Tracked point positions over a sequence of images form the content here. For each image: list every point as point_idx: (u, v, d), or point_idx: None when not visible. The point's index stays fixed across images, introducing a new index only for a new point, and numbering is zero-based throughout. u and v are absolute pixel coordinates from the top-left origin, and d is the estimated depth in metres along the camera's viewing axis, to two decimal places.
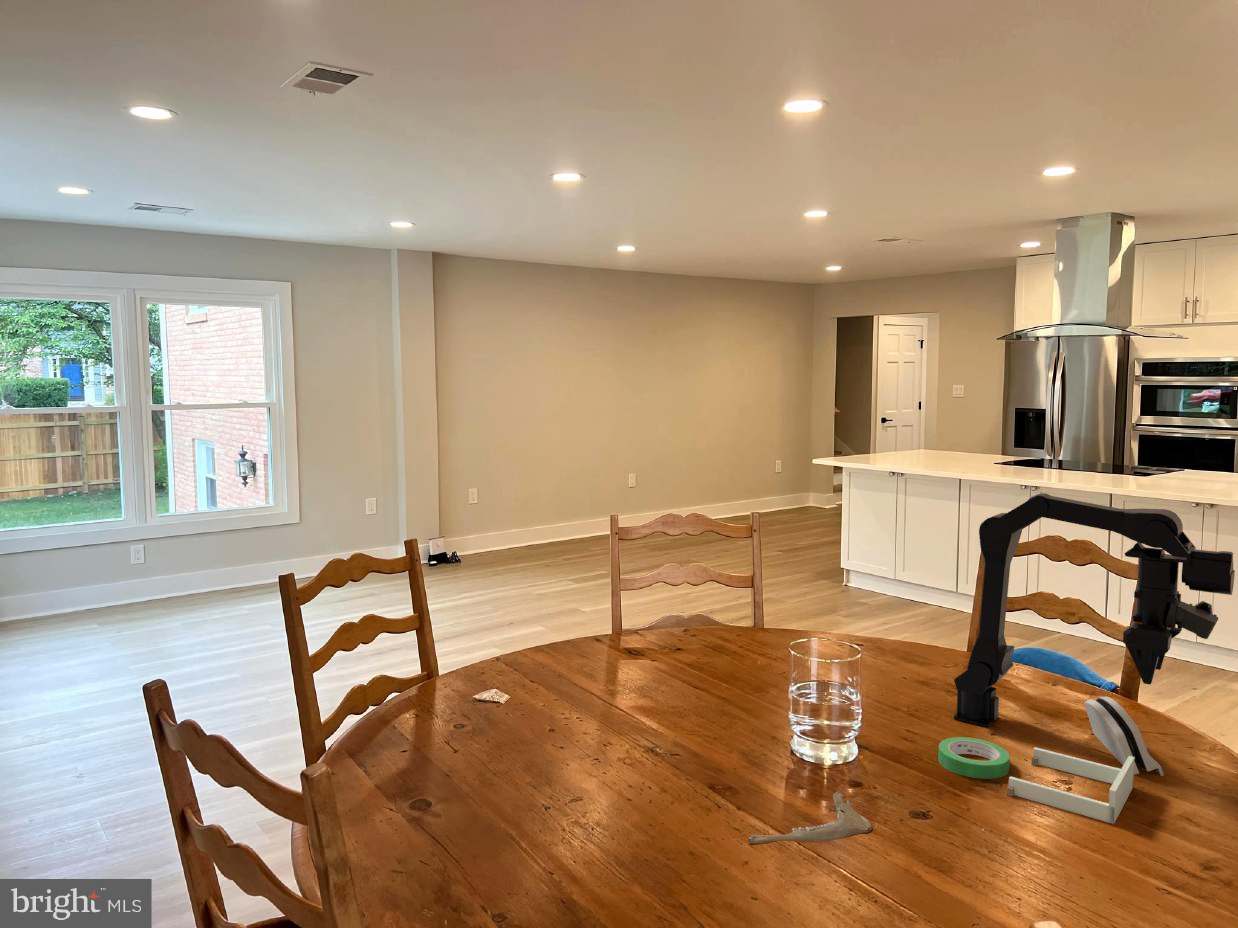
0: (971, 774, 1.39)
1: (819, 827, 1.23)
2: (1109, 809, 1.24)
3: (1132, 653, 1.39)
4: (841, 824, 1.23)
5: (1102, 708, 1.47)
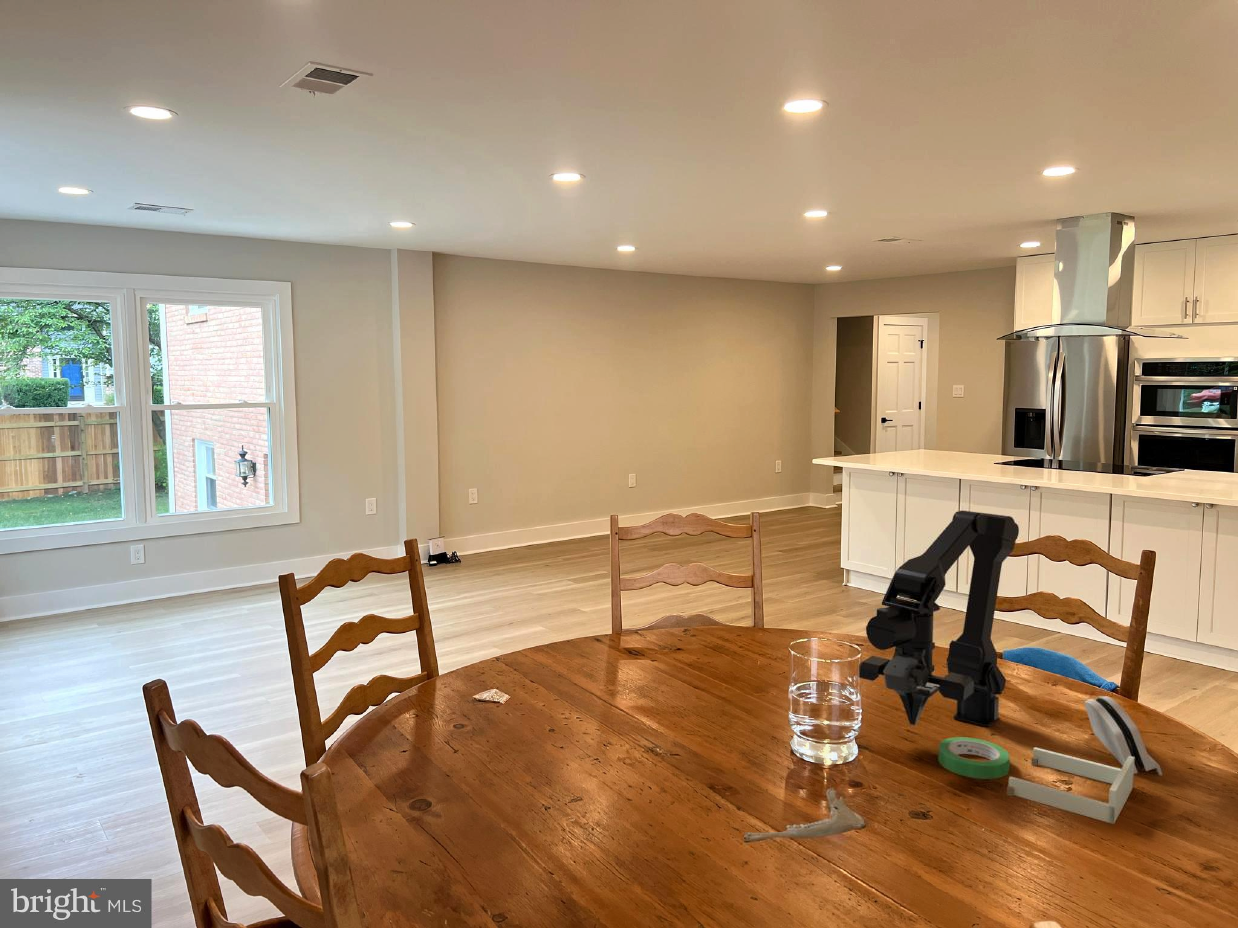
0: (971, 774, 1.39)
1: (813, 824, 1.24)
2: (1109, 809, 1.24)
3: None
4: (835, 821, 1.24)
5: (1101, 707, 1.47)
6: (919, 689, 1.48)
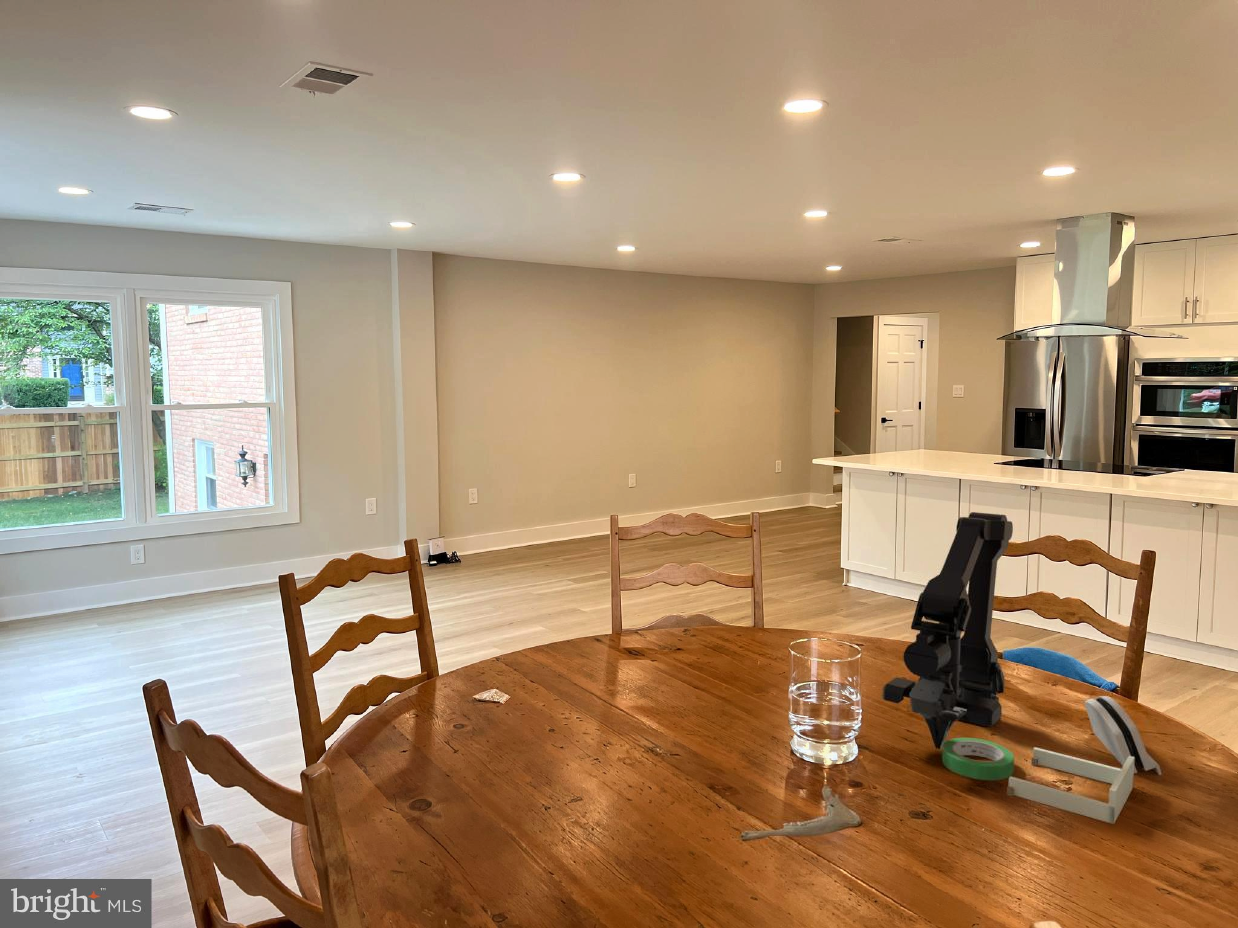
0: (975, 775, 1.39)
1: (810, 822, 1.24)
2: (1109, 809, 1.24)
3: None
4: (832, 818, 1.25)
5: (1101, 707, 1.47)
6: (945, 713, 1.45)
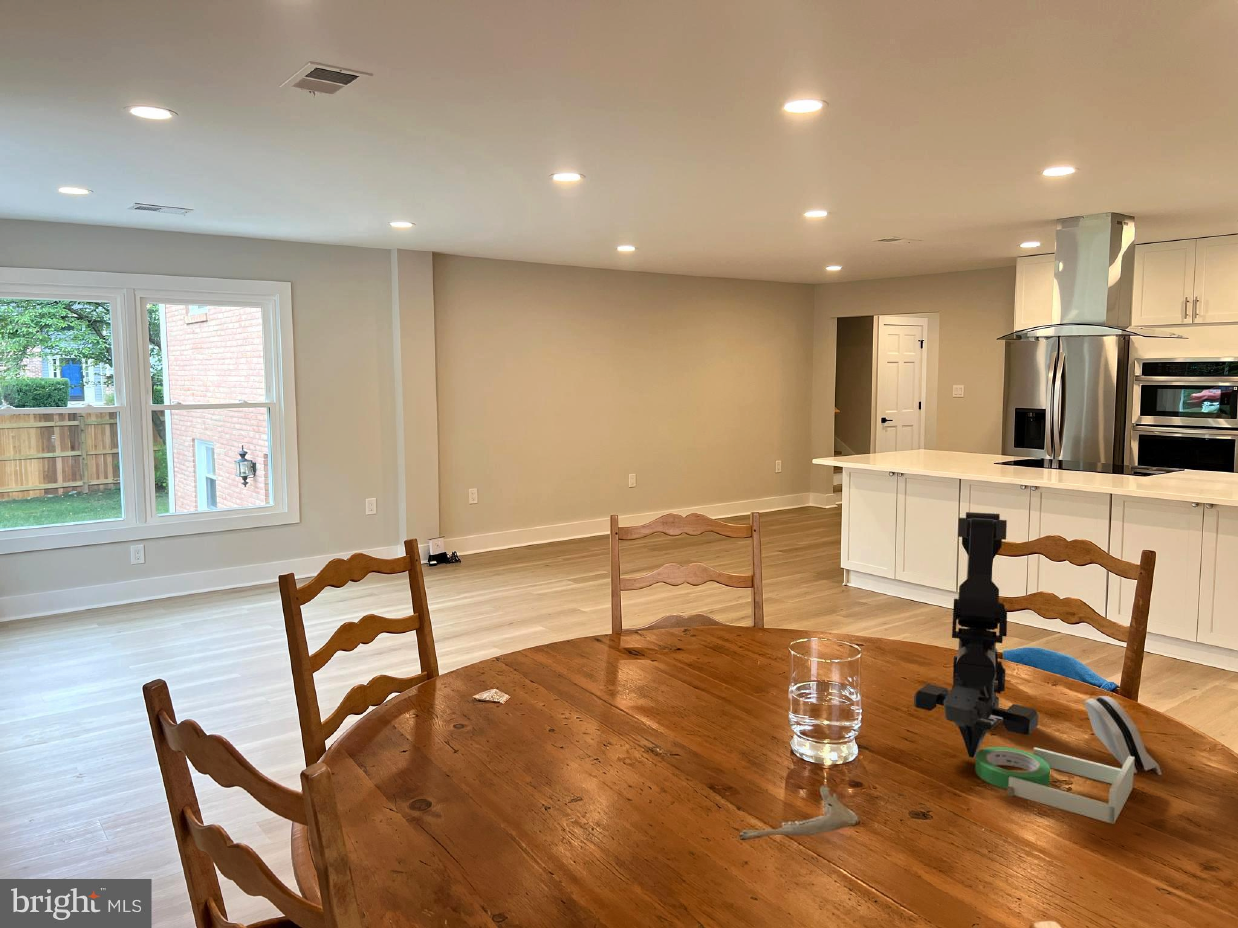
0: None
1: (808, 821, 1.25)
2: (1109, 809, 1.24)
3: None
4: (830, 818, 1.25)
5: (1101, 707, 1.47)
6: (979, 721, 1.41)
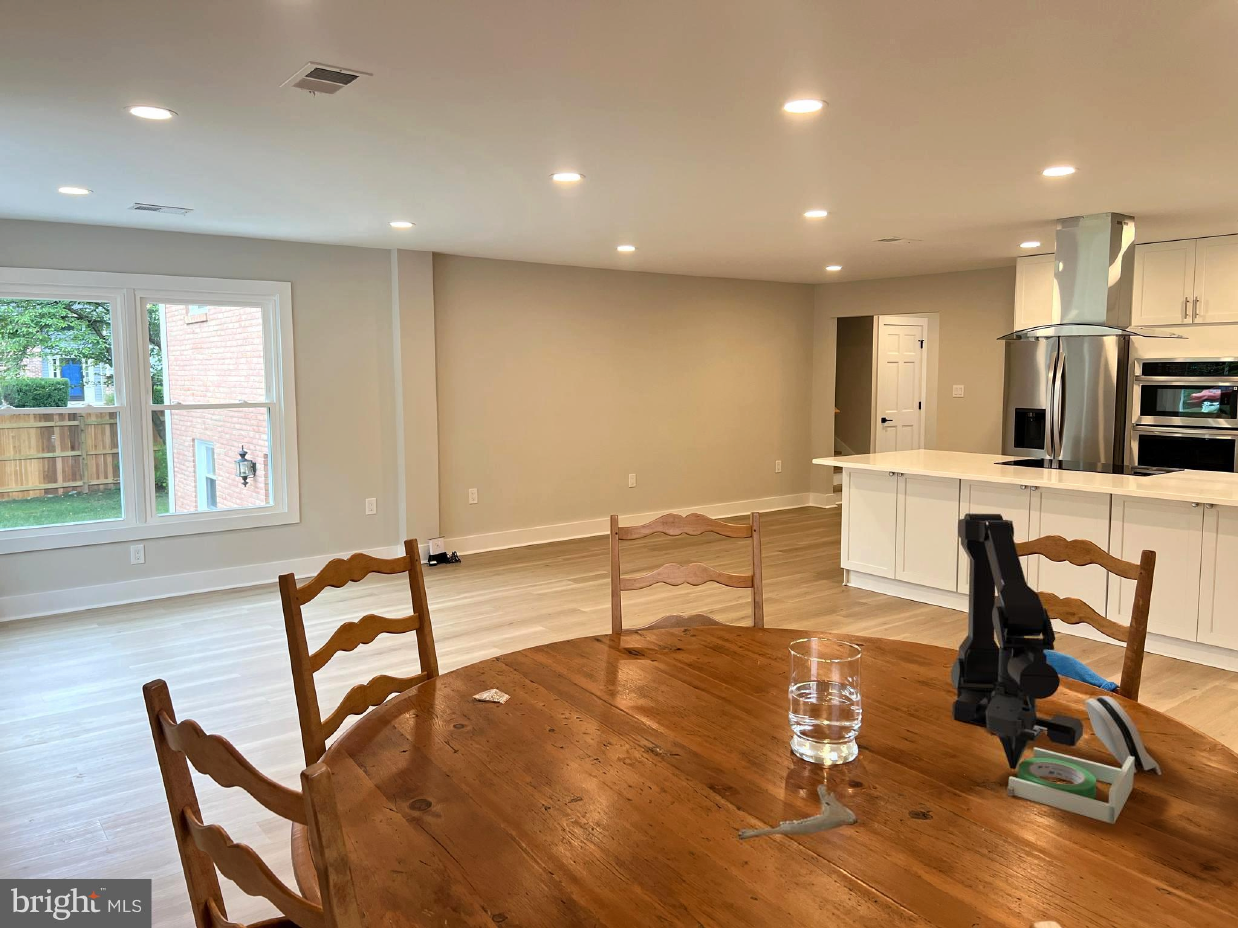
0: None
1: (806, 820, 1.25)
2: (1109, 809, 1.24)
3: None
4: (828, 817, 1.25)
5: (1101, 707, 1.47)
6: (1022, 731, 1.37)
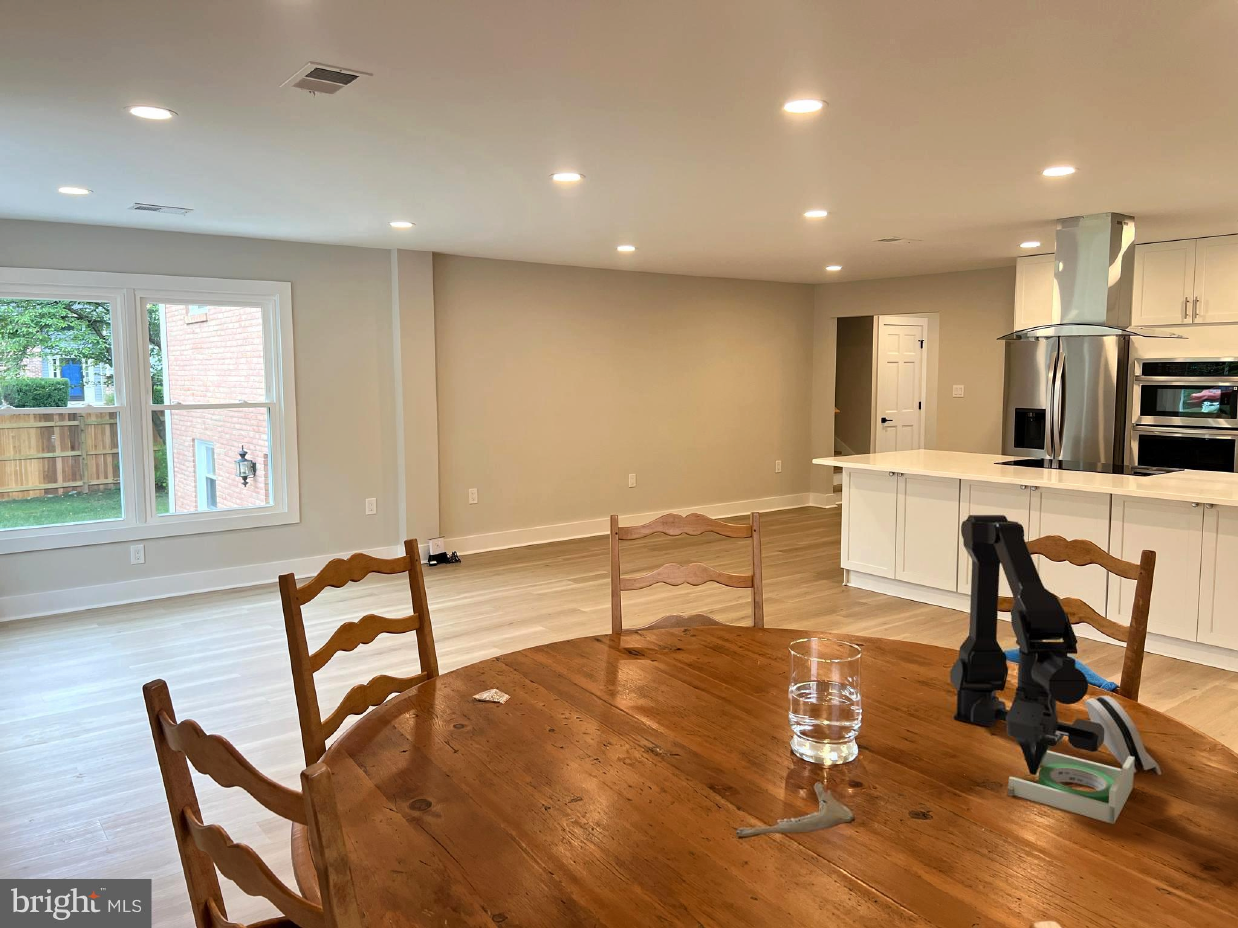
0: None
1: (804, 818, 1.25)
2: (1109, 809, 1.24)
3: None
4: (825, 814, 1.26)
5: (1101, 707, 1.47)
6: (1042, 737, 1.35)
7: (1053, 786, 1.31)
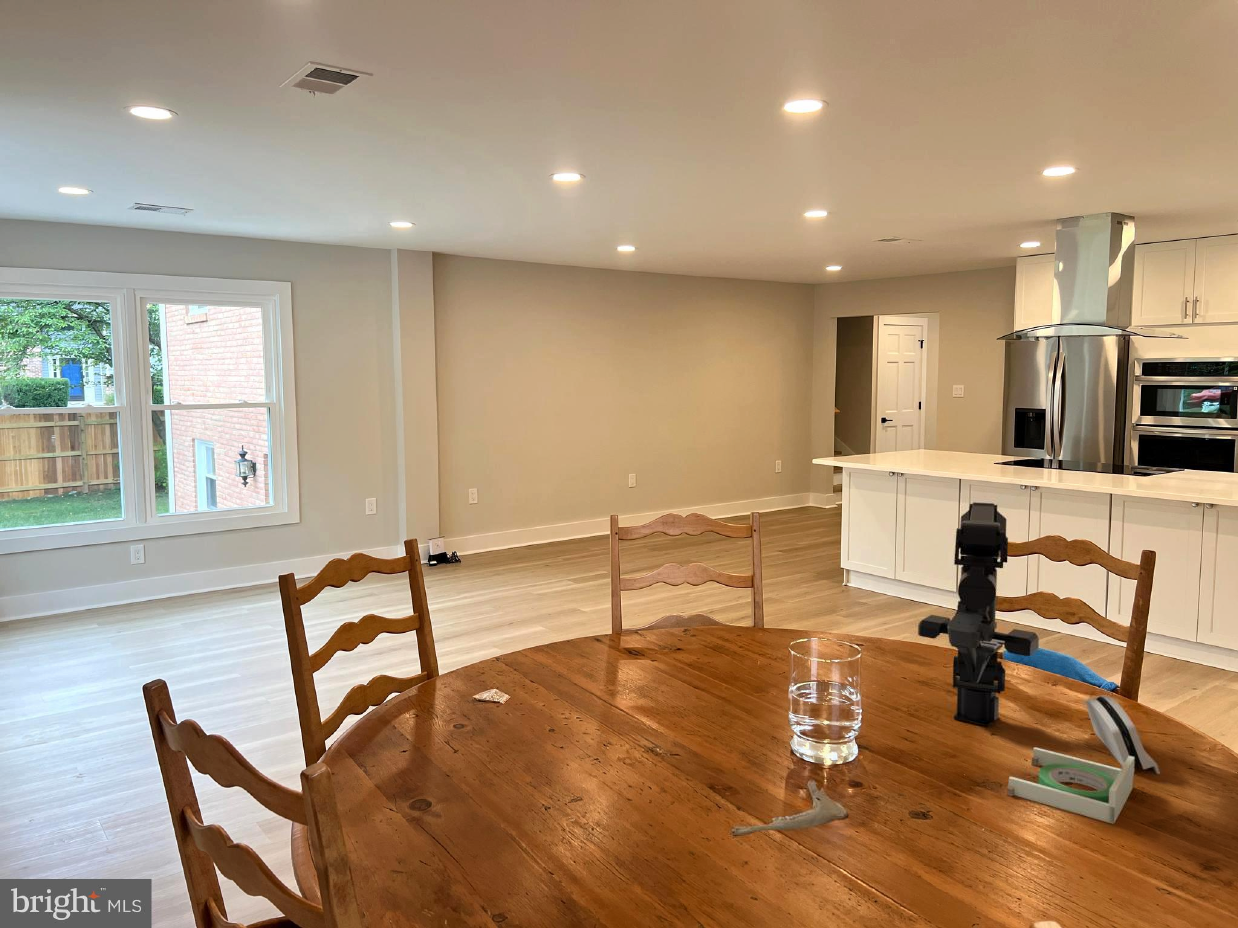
0: None
1: (798, 816, 1.26)
2: (1109, 809, 1.24)
3: None
4: (819, 812, 1.27)
5: (1100, 706, 1.48)
6: (982, 646, 1.46)
7: (1053, 786, 1.31)
